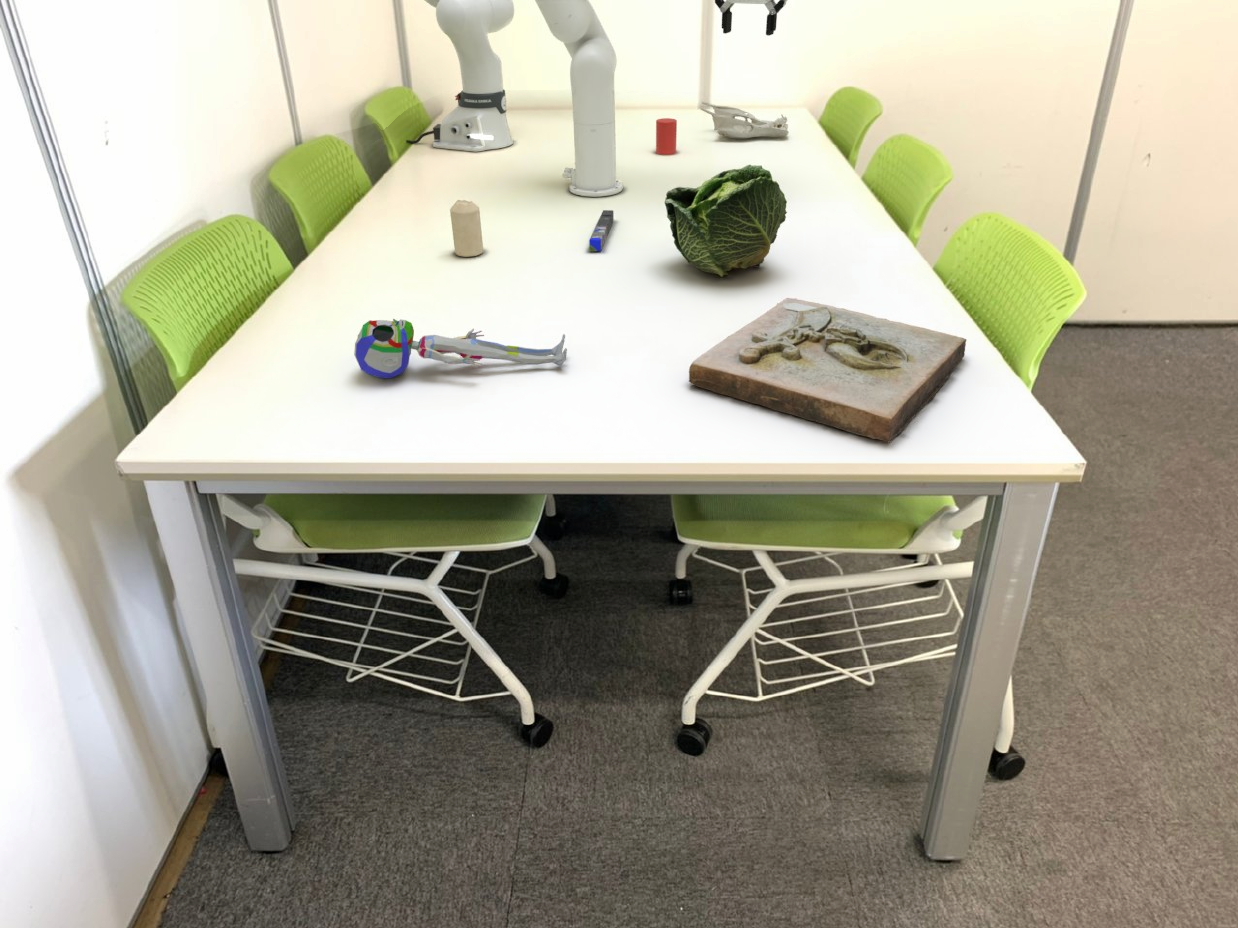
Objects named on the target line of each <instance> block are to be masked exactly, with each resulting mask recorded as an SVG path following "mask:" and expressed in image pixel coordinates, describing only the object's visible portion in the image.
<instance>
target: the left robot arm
mask: <svg viewBox="0 0 1238 928" xmlns="http://www.w3.org/2000/svg"><path fill="white" fill-rule="evenodd" d="M424 1H425V2H426V3H427V4H428V5H429V6H432V7H433V8H435V18H436V22H437V25H438V27H439V29H440V30H441V31H442V32H443V33H444V34H445V36H447V37H448V38H449V39H450V41H451V43H452V45H453V48H454V50H455V52H456V55H457V58H458V63H459V69H460V77H461V85H462V90H461V91H460V92H458V93H457V94H456V95H455V96H454V97H455V99H454V100H455V101H457V106H456V107H455V108H454V109H453V110H452V111H451V112H450V113H449V114H448V115H446V117H445V118H444V119H442V121H441V123H437V124H435V126H433V127H432V130H430V131H426V132H424V133H421V134H420V135H419V136H418V138H417V139H415V140H410V139H406V140H405V143H406V144H418V143H419V142H420V141H421V140H422V139H423V138H424V137H426V136H428V135H429V136H430V135H433V139H434V140H433V141H432V147H433V148H436V149H437V148H438V149H446V150H455V151H465V152H474V153H475V152H476V153H478V152H483V151H489V150H497V149H502V148H507V147H509V146H511V145H513V144H514V139H513V137H512V135H511V130H510V125H509V122H508V117H507V106H508V105H507V97H506V90H505V89H504V79H503V68H502V60H501V57H500V56H499V55H498V54H497V53H495V52H494V50H493V48H492V46H491V43H490V41H489V36H488V34H493V33H497V32H500V31H501V30H503V29H505V28H506V27H507V26H509V25H510V24H511V23H512V21H513V19H514V16H515V4H514V2H513V0H424Z"/></svg>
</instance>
